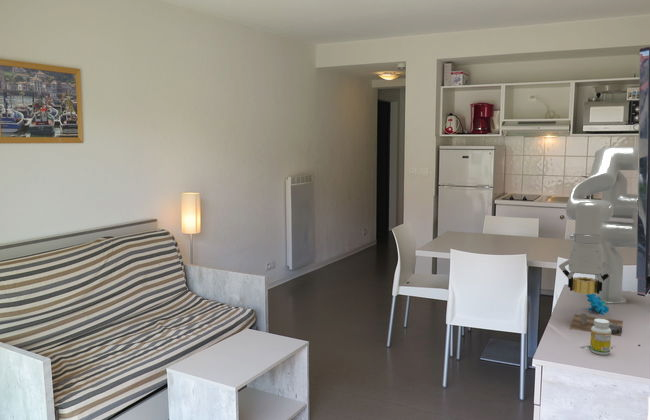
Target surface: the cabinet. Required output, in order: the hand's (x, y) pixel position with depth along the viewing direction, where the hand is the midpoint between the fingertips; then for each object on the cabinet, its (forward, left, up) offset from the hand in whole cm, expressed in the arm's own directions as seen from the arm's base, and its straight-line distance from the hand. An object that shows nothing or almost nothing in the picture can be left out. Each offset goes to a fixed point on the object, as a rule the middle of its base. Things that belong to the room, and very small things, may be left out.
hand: (584, 291), depth 178 cm
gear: (-15, +13, -13) cm, 24 cm away
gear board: (0, +4, -13) cm, 14 cm away
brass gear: (0, 0, 0) cm, 0 cm away
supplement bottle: (+20, -6, -13) cm, 25 cm away
